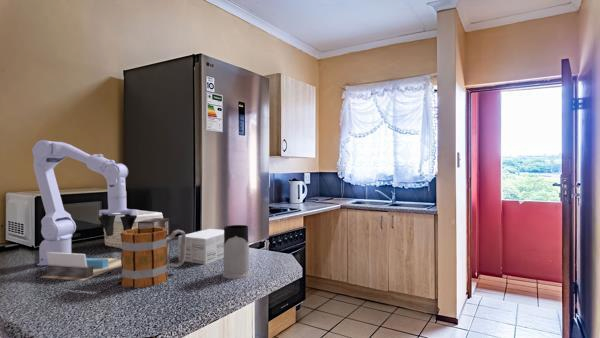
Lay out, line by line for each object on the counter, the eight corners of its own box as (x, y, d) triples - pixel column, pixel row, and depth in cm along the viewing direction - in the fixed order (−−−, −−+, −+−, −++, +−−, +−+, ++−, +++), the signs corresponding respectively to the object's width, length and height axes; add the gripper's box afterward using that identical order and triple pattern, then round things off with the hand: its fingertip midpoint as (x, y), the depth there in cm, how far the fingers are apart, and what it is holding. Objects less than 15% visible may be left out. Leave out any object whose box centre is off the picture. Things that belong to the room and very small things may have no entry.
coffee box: (154, 262, 127) (153, 217, 127) (170, 262, 125) (169, 218, 125) (137, 269, 118) (137, 221, 118) (154, 270, 116) (154, 221, 116)
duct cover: (50, 265, 111) (48, 266, 110) (48, 251, 110) (46, 252, 109) (87, 267, 107) (85, 268, 107) (85, 253, 107) (83, 255, 106)
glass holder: (221, 279, 106) (221, 229, 106) (224, 266, 120) (223, 222, 120) (250, 277, 107) (250, 228, 107) (250, 265, 121) (249, 221, 121)
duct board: (39, 279, 108) (39, 267, 108) (100, 259, 131) (100, 250, 131) (82, 282, 104) (82, 270, 104) (137, 261, 128) (137, 251, 128)
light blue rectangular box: (81, 267, 119) (81, 259, 119) (87, 265, 121) (87, 258, 121) (102, 268, 117) (102, 261, 117) (108, 266, 119) (108, 259, 119)
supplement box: (208, 251, 144) (208, 228, 144) (234, 254, 138) (234, 230, 138) (177, 260, 129) (177, 235, 129) (205, 264, 123) (205, 238, 123)
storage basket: (100, 245, 156) (100, 212, 156) (135, 239, 169) (135, 208, 169) (128, 252, 142) (128, 216, 142) (164, 245, 155) (164, 212, 155)
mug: (128, 291, 96) (127, 236, 96) (114, 280, 106) (113, 230, 106) (195, 276, 109) (195, 228, 109) (177, 267, 119) (177, 223, 119)
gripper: (142, 196, 126) (143, 233, 126) (109, 196, 130) (111, 233, 130) (127, 197, 119) (129, 237, 119) (93, 198, 123) (95, 237, 123)
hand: (118, 235), depth 124 cm, fingers open, 7 cm apart
